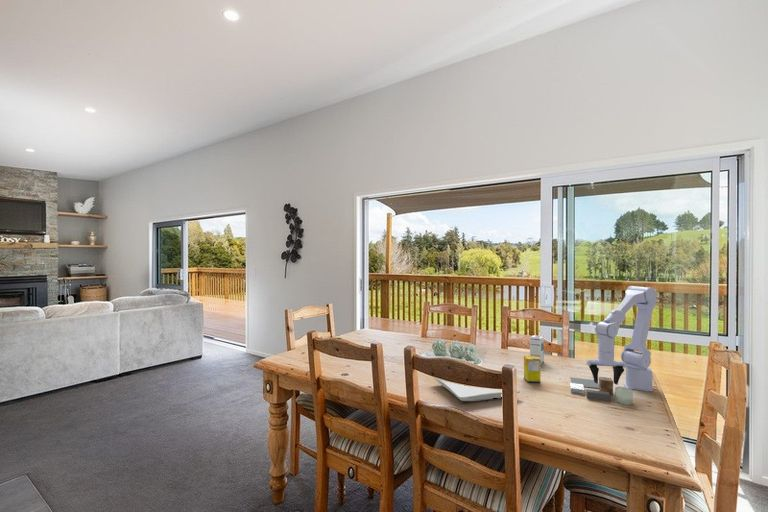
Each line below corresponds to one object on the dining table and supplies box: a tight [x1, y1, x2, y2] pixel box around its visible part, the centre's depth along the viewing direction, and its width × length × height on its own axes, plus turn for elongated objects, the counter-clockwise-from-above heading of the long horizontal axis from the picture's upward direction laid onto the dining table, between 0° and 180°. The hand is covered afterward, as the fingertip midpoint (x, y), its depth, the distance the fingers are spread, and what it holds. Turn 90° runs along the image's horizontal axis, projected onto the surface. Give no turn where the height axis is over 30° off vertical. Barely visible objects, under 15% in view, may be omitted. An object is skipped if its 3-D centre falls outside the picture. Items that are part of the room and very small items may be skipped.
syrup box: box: [529, 335, 545, 366], centre depth 199 cm, size 6×6×14 cm
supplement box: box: [523, 355, 542, 384], centre depth 172 cm, size 6×6×11 cm
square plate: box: [434, 378, 520, 402], centre depth 160 cm, size 27×27×4 cm
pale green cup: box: [614, 386, 634, 406], centre depth 148 cm, size 6×6×5 cm
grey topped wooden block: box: [569, 382, 585, 395], centre depth 159 cm, size 7×5×2 cm
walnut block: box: [598, 376, 614, 396], centre depth 157 cm, size 4×4×6 cm
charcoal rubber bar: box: [585, 388, 611, 402], centre depth 151 cm, size 8×3×3 cm, turn 67°
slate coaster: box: [569, 376, 599, 390], centre depth 168 cm, size 11×11×1 cm
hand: (605, 383), depth 157 cm, fingers open, 7 cm apart
